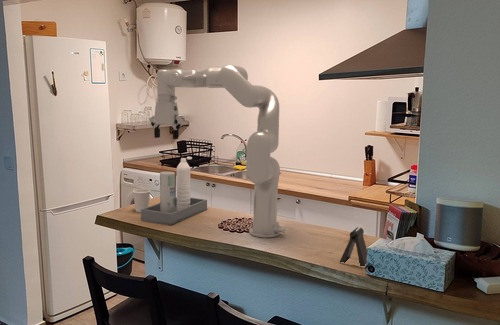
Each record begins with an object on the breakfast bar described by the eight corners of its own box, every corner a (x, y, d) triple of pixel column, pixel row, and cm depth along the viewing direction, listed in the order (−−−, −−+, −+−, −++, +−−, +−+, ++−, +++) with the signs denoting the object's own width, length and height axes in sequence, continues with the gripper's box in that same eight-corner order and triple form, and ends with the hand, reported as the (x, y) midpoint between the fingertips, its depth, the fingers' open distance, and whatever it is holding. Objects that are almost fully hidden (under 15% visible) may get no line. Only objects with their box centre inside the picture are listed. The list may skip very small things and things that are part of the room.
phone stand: (339, 263, 150) (341, 229, 148) (345, 257, 155) (347, 225, 153) (365, 268, 145) (367, 234, 143) (370, 263, 150) (372, 229, 148)
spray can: (170, 219, 193) (170, 174, 190) (157, 217, 195) (157, 173, 192) (177, 215, 199) (177, 172, 196) (164, 213, 201) (164, 170, 198)
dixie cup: (140, 214, 204) (139, 193, 202) (129, 210, 209) (128, 190, 207) (154, 210, 210) (154, 190, 209) (143, 207, 215) (143, 187, 214)
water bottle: (184, 212, 204) (184, 159, 201) (173, 210, 208) (173, 158, 204) (196, 208, 212) (196, 157, 208) (185, 206, 215) (185, 156, 211)
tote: (207, 209, 214) (207, 199, 213) (171, 225, 187) (171, 214, 186) (179, 205, 221) (179, 195, 220) (141, 220, 194) (140, 209, 193)
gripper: (187, 99, 189) (187, 138, 192) (155, 98, 196) (155, 136, 199) (178, 99, 182) (178, 140, 185) (144, 98, 190) (144, 137, 192)
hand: (166, 138), depth 192 cm, fingers open, 9 cm apart
